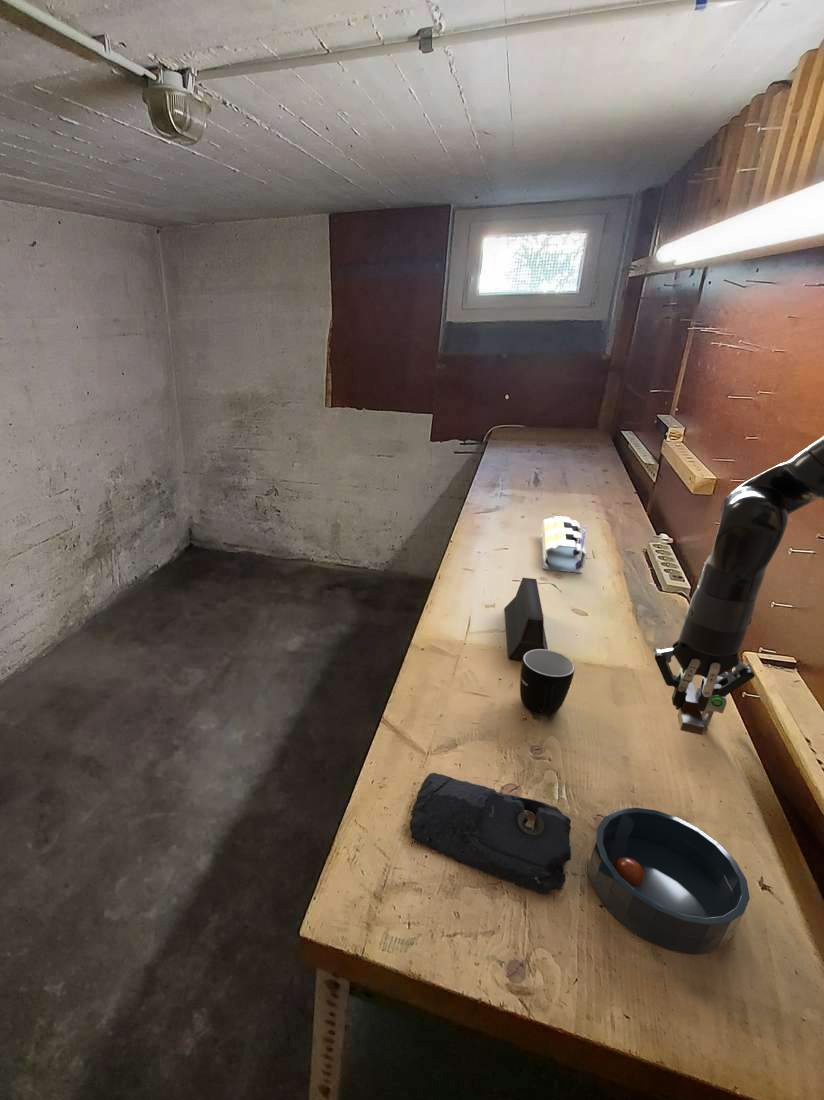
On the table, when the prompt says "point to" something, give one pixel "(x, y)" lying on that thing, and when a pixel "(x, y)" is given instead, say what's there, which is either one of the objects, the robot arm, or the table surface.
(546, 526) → the diorama
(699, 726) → the dark brown wooden bar
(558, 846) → the dark slate chunk
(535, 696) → the mug
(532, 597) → the barrier
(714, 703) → the mechanical component
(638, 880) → the bead
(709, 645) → the robot arm
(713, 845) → the bowl
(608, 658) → the table surface
